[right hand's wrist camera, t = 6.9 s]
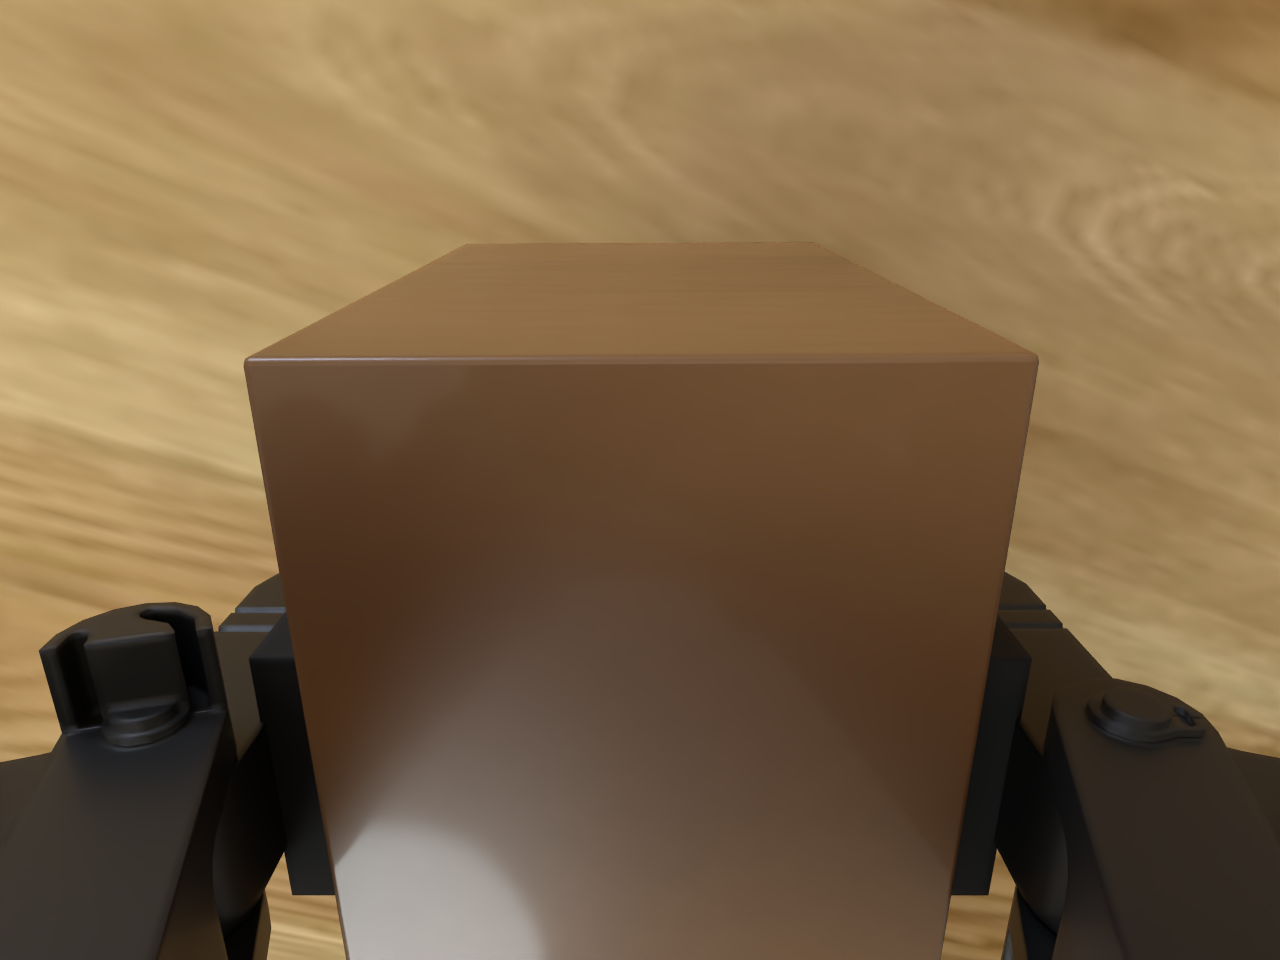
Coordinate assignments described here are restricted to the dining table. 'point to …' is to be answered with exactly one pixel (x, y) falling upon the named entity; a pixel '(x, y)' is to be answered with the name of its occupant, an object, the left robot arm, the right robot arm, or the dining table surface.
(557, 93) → the dining table surface
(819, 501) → the beam
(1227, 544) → the dining table surface
